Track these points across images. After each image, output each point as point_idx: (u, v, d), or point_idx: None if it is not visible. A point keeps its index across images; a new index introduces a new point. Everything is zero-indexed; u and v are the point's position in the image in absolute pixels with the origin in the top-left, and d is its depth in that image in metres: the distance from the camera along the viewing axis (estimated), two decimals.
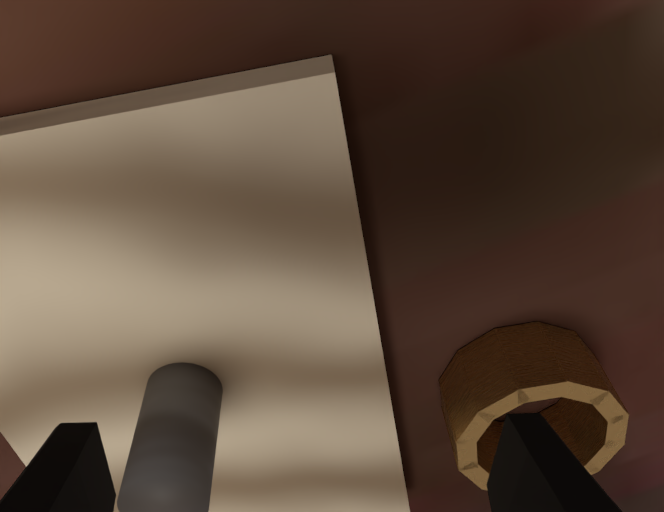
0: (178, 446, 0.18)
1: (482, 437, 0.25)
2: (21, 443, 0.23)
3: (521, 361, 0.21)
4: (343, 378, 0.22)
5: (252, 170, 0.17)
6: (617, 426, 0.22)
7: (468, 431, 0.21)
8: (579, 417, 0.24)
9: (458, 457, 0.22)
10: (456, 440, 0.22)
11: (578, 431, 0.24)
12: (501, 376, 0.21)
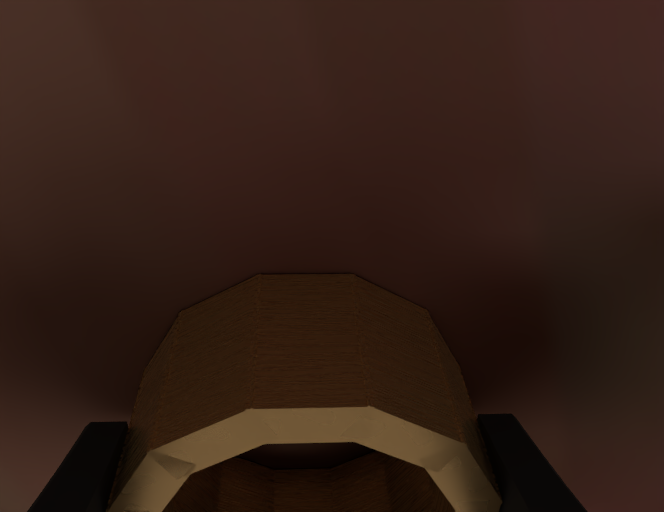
0: None
1: (387, 492, 0.12)
2: None
3: None
4: None
5: None
6: (289, 425, 0.08)
7: None
8: None
9: None
10: None
11: None
12: None
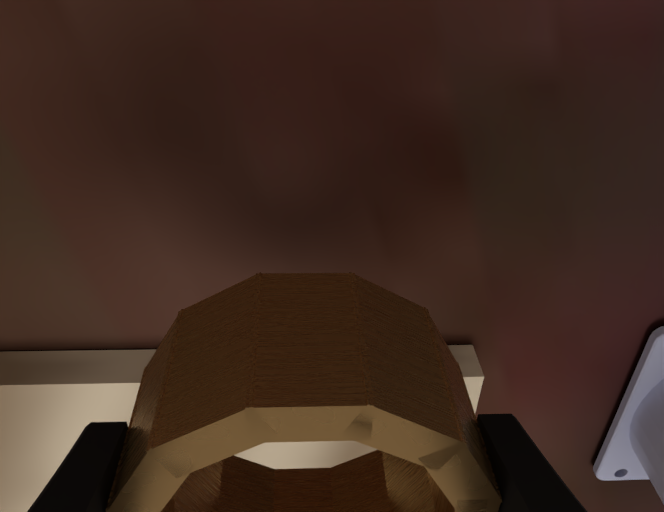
0: None
1: (387, 491, 0.12)
2: None
3: None
4: None
5: None
6: (289, 424, 0.08)
7: None
8: None
9: None
10: None
11: None
12: None
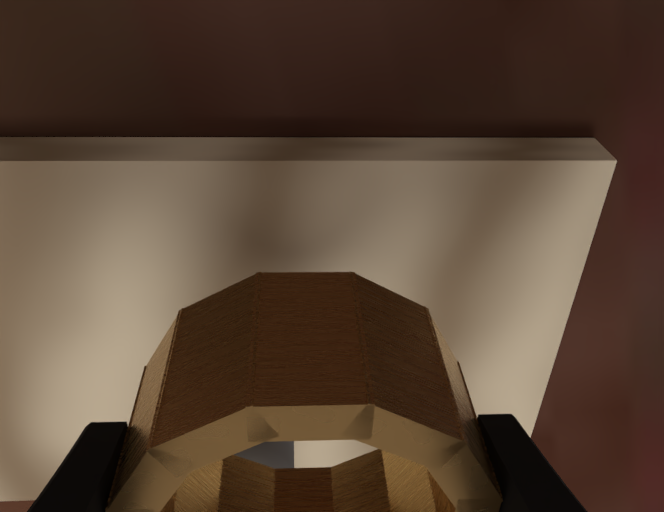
0: None
1: (388, 491, 0.12)
2: None
3: None
4: (270, 211, 0.17)
5: None
6: (289, 423, 0.08)
7: None
8: None
9: None
10: None
11: None
12: None
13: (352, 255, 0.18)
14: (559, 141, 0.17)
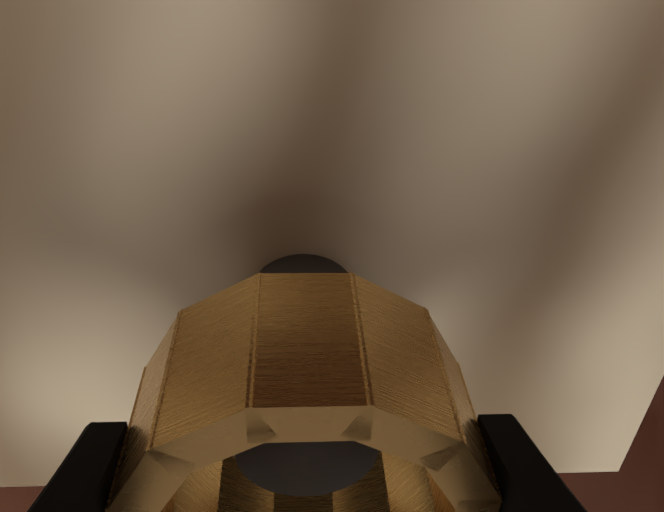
0: None
1: (387, 491, 0.12)
2: None
3: None
4: (343, 73, 0.12)
5: None
6: (288, 424, 0.08)
7: None
8: None
9: None
10: None
11: None
12: None
13: (450, 145, 0.13)
14: None
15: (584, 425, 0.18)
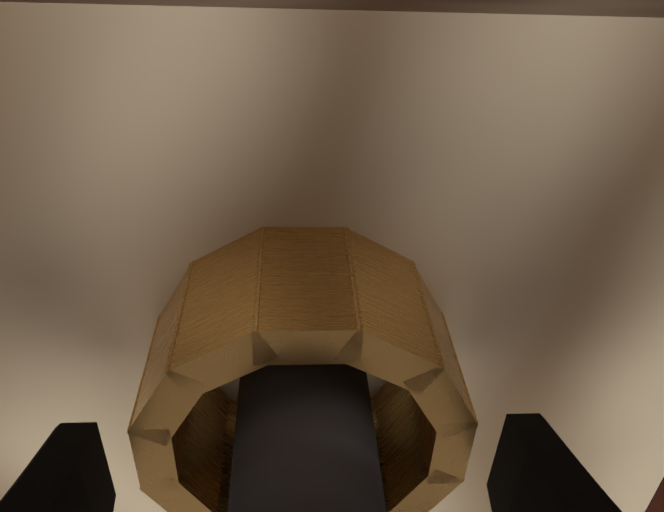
0: (238, 457, 0.10)
1: (379, 432, 0.14)
2: None
3: None
4: (348, 104, 0.10)
5: None
6: (289, 347, 0.10)
7: None
8: None
9: None
10: None
11: None
12: None
13: (467, 181, 0.11)
14: None
15: (606, 471, 0.17)
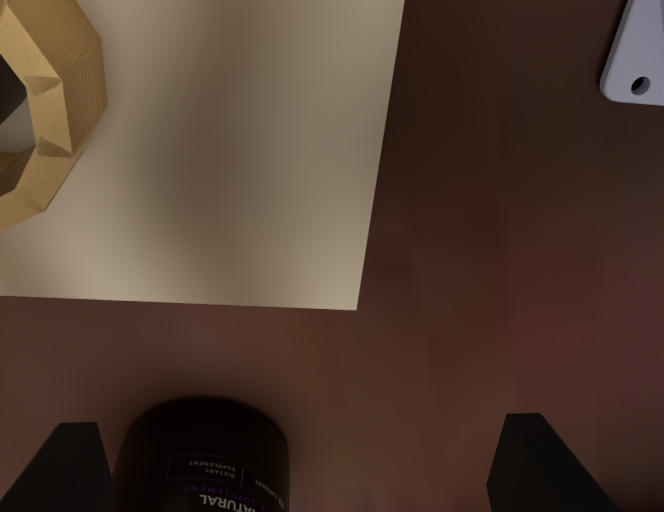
0: None
1: None
2: (70, 287, 0.18)
3: None
4: None
5: None
6: None
7: None
8: None
9: None
10: None
11: None
12: None
13: None
14: None
15: (308, 248, 0.18)
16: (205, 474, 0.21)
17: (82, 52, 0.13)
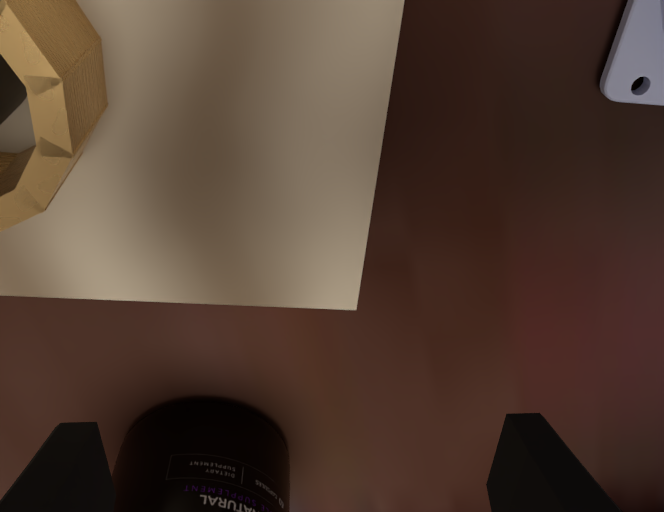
0: None
1: None
2: (70, 287, 0.18)
3: None
4: None
5: None
6: None
7: None
8: None
9: None
10: None
11: None
12: None
13: None
14: None
15: (308, 248, 0.18)
16: (206, 474, 0.21)
17: (82, 52, 0.13)
